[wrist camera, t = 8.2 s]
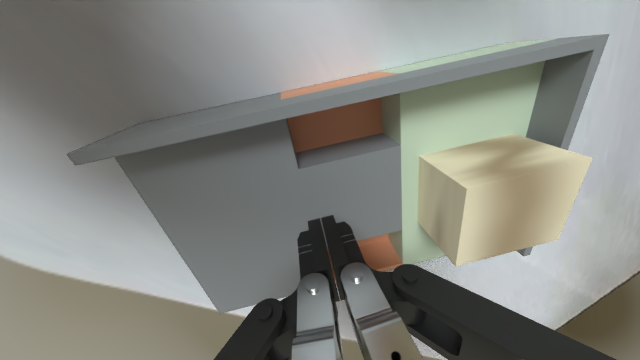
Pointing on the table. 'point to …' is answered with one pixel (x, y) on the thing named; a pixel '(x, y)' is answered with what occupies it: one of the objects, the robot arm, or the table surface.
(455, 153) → the birch block
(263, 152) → the box
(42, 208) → the table surface
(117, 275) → the table surface
